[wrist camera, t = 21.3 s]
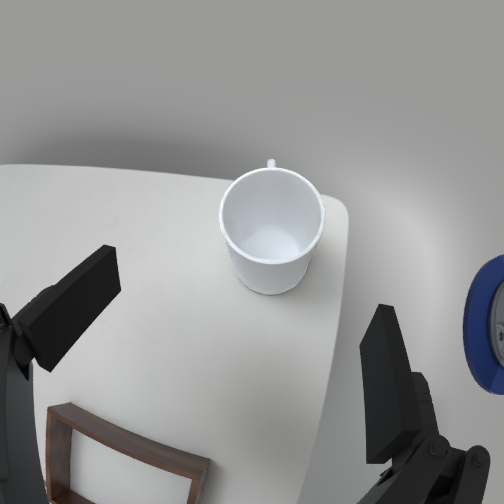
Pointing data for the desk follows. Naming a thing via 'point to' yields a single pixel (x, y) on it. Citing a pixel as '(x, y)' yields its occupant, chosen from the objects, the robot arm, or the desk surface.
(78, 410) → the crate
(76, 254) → the desk surface
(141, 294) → the desk surface
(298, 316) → the desk surface
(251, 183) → the mug
